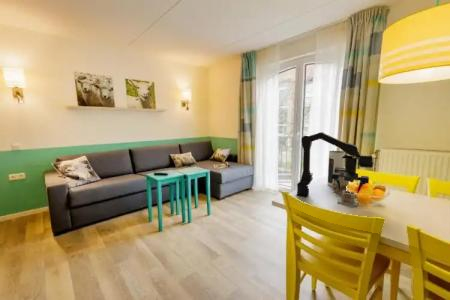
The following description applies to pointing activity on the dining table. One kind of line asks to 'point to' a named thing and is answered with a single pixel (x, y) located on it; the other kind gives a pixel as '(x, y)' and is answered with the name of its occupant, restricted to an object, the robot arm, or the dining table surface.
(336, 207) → the dining table surface
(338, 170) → the coffee box
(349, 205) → the grey square slab
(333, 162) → the speaker
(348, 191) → the open wooden cubby
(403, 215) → the dining table surface
